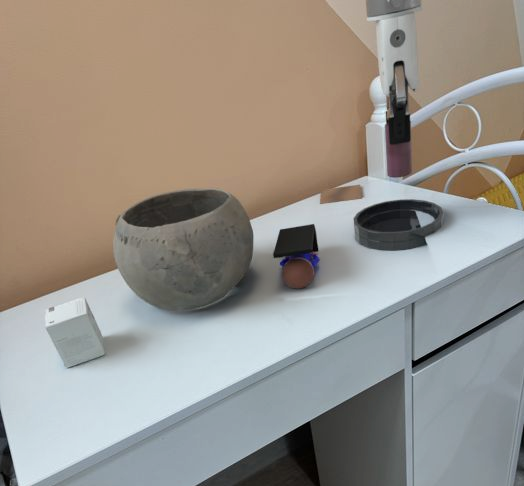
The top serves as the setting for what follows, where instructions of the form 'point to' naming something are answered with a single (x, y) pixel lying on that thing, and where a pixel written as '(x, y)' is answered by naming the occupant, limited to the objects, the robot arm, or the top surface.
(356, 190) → the coaster
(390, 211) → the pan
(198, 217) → the bowl
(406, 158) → the purple vial
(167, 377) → the top surface
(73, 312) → the white cardboard box
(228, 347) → the top surface
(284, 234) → the figurine character
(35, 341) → the top surface
